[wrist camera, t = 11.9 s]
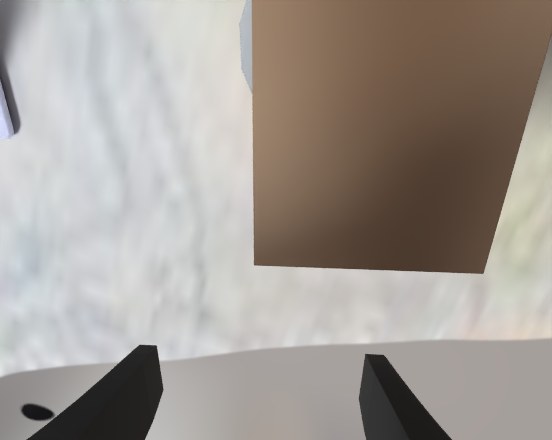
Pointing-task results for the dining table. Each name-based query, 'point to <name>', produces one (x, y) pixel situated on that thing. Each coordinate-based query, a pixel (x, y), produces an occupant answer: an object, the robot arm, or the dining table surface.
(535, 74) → the walnut block
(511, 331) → the dining table surface
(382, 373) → the robot arm
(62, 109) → the dining table surface
